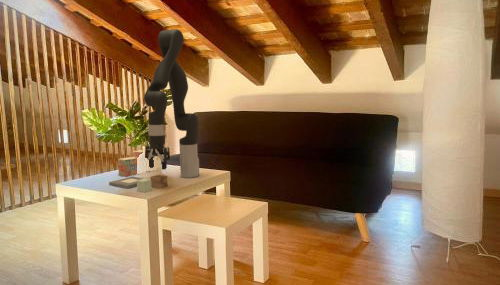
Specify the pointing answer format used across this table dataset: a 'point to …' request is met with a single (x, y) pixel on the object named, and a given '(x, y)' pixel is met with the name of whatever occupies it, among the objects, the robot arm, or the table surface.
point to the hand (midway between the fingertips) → (157, 168)
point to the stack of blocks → (129, 164)
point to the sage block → (144, 185)
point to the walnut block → (159, 181)
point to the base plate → (126, 182)
